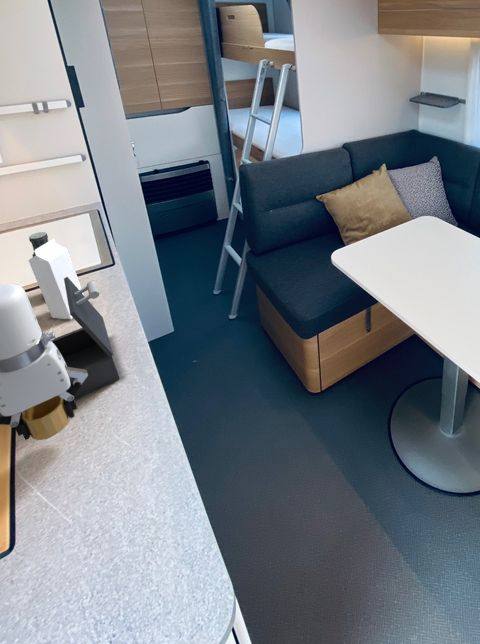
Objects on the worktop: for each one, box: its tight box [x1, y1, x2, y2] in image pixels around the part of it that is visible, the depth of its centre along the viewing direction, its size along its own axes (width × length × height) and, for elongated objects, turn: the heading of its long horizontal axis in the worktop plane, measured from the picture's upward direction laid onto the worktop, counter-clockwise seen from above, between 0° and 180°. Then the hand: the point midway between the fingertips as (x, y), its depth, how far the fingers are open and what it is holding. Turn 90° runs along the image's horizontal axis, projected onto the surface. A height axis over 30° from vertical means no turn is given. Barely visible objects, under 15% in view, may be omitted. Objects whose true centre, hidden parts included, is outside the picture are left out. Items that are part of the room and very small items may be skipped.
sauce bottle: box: [28, 231, 50, 258], centre depth 119 cm, size 6×6×20 cm
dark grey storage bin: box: [51, 327, 120, 401], centre depth 94 cm, size 14×16×6 cm
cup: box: [22, 395, 71, 441], centre depth 77 cm, size 6×6×5 cm
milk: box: [28, 238, 85, 320], centre depth 111 cm, size 6×6×22 cm
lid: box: [64, 277, 114, 357], centre depth 94 cm, size 15×16×5 cm
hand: (50, 422), depth 78 cm, fingers closed on cup, 6 cm apart
